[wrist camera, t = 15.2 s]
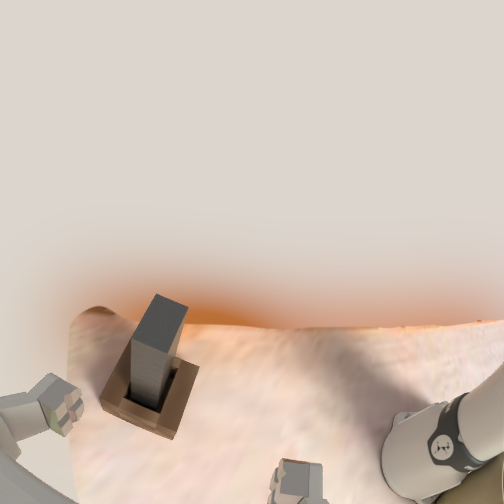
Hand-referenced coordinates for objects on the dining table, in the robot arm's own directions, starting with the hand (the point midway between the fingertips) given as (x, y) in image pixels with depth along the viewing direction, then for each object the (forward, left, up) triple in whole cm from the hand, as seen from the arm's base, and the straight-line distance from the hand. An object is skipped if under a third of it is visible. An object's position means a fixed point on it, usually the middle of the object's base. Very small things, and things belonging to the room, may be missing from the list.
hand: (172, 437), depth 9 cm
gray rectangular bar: (0, -11, -25) cm, 27 cm away
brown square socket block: (0, -11, -26) cm, 28 cm away
